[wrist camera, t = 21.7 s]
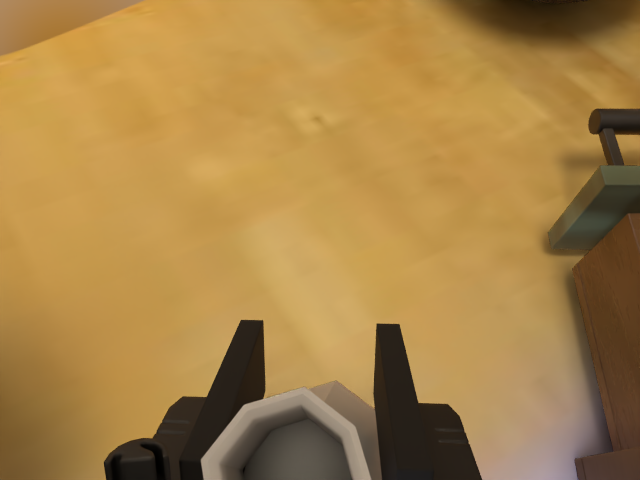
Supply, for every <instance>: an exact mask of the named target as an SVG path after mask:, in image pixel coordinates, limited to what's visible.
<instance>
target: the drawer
mask: <svg viewBox="0 0 640 480" xmlns="http://www.w3.org/2000/svg"><path fill="white" fill-rule="evenodd" d="M588 126H589V131H590V133H592V134H599V137H600V141H601V144H602V147H603V151H604V154H605V157H606V161H607V164H608V165H601V166H599V168H598V169H597V170H596V171H595V173H594V174H593V175H592V177H591V178H590V179H589V180H588V182H587V183H586V184H585V186H584V187H583V188H582V189H581V191H580V192H579V193H578V195H577V196H576V197H575V198H574V200H573V201H572V202H571V204H570V205H569V206H568V207H567V209H566V210H565V211H564V213H563V214H562V215H561V216H560V218H559V219H558V220H557V222H556V223H555V224H554V225H553V227H552V228H551V229H550V231H549V232H548V236H549V240H550V245H551V249H568V250H590V251H589V252H588V253H587V254H586V255H585V256H584V257H583V258H582V259H581V260H580V261H579V263H577V264H576V265H575V266H574V267H573V268H572V271H573V275H574V279H575V284H576V288H577V293H578V297H579V301H580V306H581V310H582V315H583V319H584V324H585V328H586V332H587V337H588V341H589V346H590V350H591V354H592V359H593V363H594V368H595V372H596V376H597V381H598V385H599V390H600V394H601V398H602V403H603V407H604V412H605V416H606V421H607V425H608V429H609V434H610V438H611V443H612V447H613V451H620V450H626V449H631V448H637V447H640V166H625V165H624V162H623V159H622V156H621V152H620V149H619V146H618V143H617V140H616V137H615V135H640V109H595V110H593V112H592V113H591V115H590V118H589V124H588Z"/></svg>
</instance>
